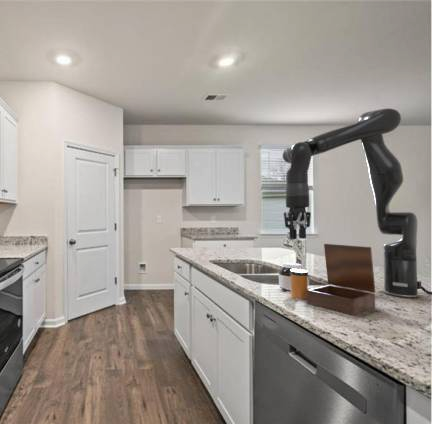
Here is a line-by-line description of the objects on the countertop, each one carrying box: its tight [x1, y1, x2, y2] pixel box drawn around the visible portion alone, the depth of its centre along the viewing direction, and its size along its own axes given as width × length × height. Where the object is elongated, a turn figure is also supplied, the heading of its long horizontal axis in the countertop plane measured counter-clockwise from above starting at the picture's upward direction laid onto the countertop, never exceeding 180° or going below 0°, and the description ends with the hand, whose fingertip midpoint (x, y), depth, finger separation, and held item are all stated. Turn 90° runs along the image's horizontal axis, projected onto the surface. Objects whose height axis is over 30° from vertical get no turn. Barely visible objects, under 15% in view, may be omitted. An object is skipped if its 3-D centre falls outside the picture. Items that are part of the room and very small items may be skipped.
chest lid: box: [323, 243, 376, 293], centre depth 99 cm, size 16×14×1 cm
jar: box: [290, 269, 309, 300], centre depth 107 cm, size 6×6×11 cm
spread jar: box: [278, 262, 310, 293], centre depth 120 cm, size 12×11×12 cm
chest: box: [306, 284, 376, 317], centre depth 96 cm, size 15×14×6 cm
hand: (297, 238), depth 108 cm, fingers open, 5 cm apart
